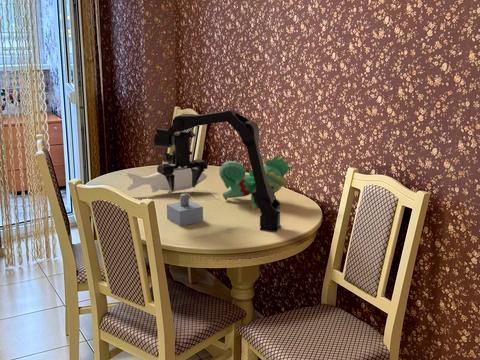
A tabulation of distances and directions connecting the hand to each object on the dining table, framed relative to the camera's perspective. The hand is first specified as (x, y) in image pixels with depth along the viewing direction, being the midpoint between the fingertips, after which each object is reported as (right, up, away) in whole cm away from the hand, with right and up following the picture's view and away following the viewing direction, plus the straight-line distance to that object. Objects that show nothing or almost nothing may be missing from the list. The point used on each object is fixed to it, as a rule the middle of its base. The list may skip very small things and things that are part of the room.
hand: (182, 189), depth 223 cm
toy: (+28, -7, +24) cm, 37 cm away
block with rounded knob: (+1, -12, +3) cm, 12 cm away
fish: (-10, -3, +36) cm, 38 cm away
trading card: (+5, -4, +34) cm, 35 cm away
